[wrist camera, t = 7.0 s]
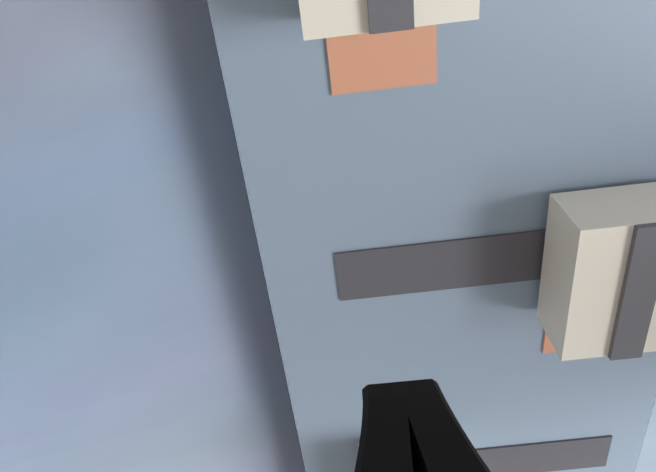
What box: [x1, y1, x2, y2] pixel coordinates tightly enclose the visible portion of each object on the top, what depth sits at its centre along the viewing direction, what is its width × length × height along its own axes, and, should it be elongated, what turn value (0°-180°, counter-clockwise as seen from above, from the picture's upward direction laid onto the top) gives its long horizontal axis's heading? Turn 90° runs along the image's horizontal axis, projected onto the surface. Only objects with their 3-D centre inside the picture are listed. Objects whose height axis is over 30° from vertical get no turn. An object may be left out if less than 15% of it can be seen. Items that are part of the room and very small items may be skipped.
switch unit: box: [207, 0, 656, 472], centre depth 20 cm, size 15×30×2 cm, turn 6°
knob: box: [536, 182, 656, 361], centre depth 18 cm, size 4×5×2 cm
